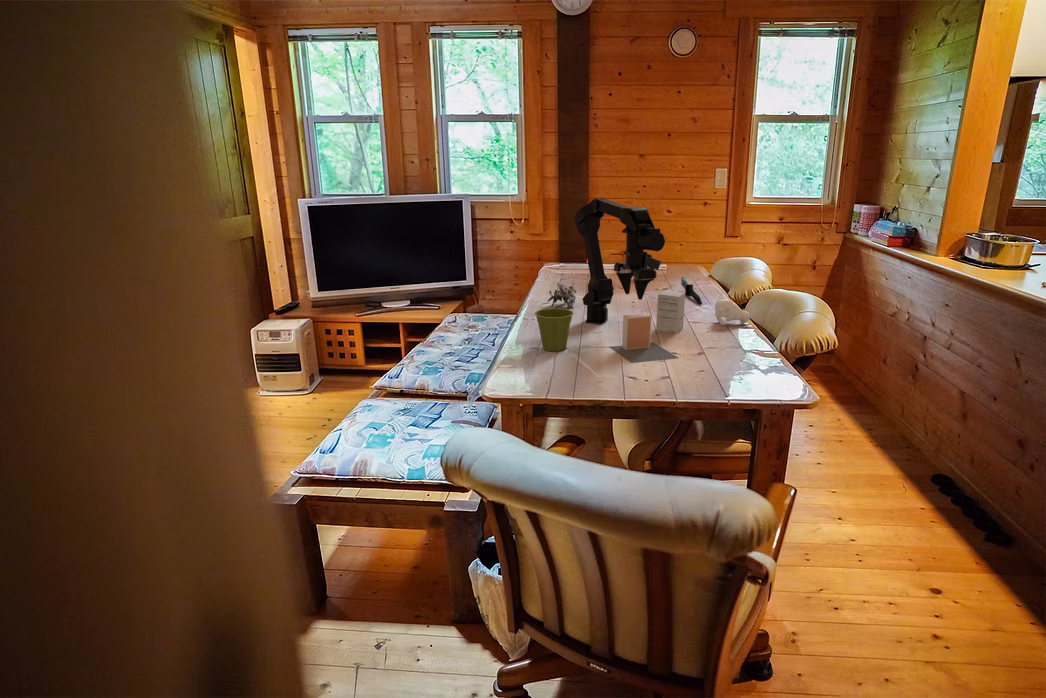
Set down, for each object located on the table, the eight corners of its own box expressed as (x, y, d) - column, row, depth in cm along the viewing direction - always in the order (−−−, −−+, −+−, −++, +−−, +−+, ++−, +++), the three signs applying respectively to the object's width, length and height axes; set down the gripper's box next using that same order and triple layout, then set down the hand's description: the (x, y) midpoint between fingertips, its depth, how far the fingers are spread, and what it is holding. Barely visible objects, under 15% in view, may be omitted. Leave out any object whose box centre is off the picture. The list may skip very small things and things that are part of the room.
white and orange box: (621, 347, 186) (623, 315, 183) (645, 345, 188) (647, 313, 185) (625, 349, 184) (627, 317, 181) (650, 347, 186) (651, 315, 183)
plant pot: (563, 340, 195) (563, 306, 191) (580, 351, 184) (580, 315, 181) (528, 345, 191) (528, 310, 187) (543, 356, 180) (543, 319, 177)
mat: (609, 347, 187) (609, 346, 187) (653, 343, 191) (653, 342, 191) (631, 363, 173) (631, 362, 172) (679, 359, 176) (679, 358, 176)
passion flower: (571, 321, 238) (575, 301, 228) (543, 316, 238) (547, 295, 229) (575, 300, 244) (580, 279, 235) (548, 294, 245) (552, 274, 235)
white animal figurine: (715, 296, 213) (750, 300, 212) (710, 320, 216) (745, 324, 215) (718, 300, 207) (754, 304, 206) (714, 325, 210) (749, 328, 209)
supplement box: (662, 325, 210) (664, 289, 206) (683, 328, 207) (686, 292, 203) (655, 331, 204) (657, 293, 200) (676, 334, 201) (679, 296, 197)
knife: (679, 286, 266) (680, 276, 264) (686, 286, 266) (687, 276, 264) (694, 310, 238) (695, 299, 236) (702, 310, 238) (703, 299, 236)
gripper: (672, 250, 187) (670, 300, 191) (644, 243, 204) (642, 289, 208) (639, 252, 184) (638, 303, 188) (613, 245, 201) (612, 292, 205)
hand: (633, 296), depth 197 cm, fingers open, 9 cm apart
